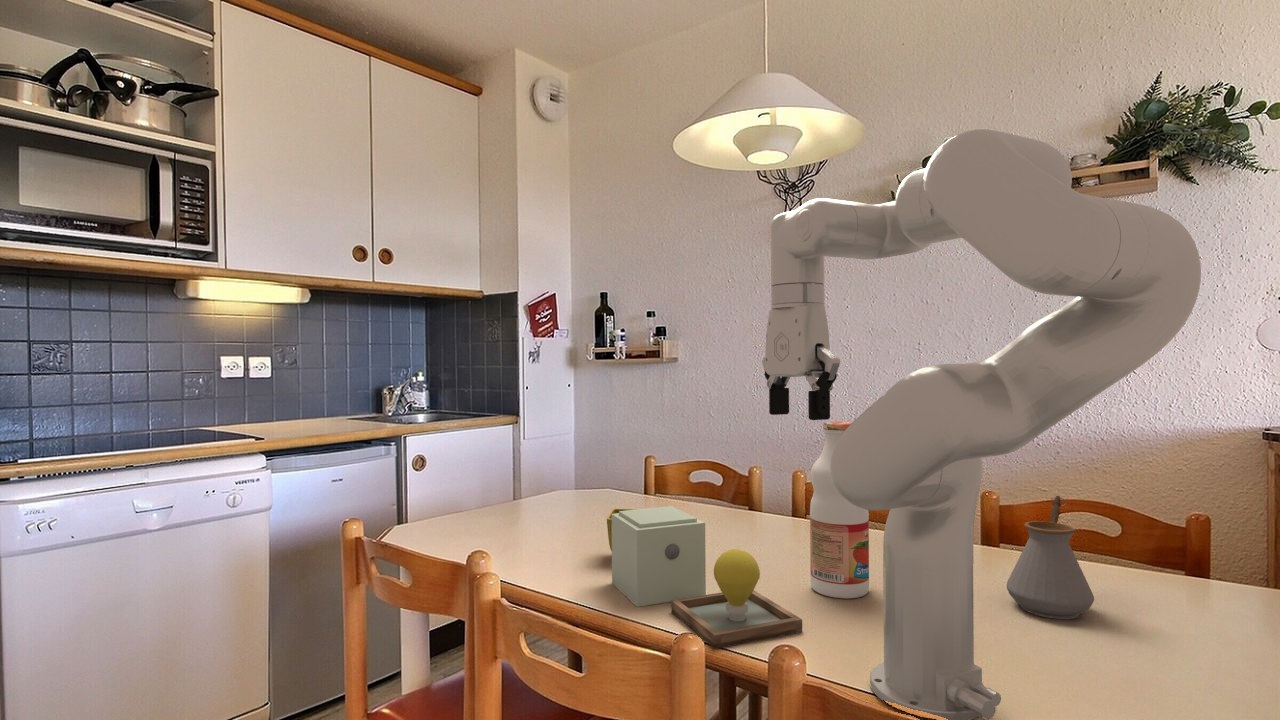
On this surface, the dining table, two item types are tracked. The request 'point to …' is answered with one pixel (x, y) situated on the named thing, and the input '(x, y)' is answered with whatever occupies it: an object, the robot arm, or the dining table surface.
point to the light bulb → (736, 580)
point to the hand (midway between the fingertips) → (798, 416)
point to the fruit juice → (836, 531)
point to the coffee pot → (1050, 572)
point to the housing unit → (658, 555)
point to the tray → (720, 631)
